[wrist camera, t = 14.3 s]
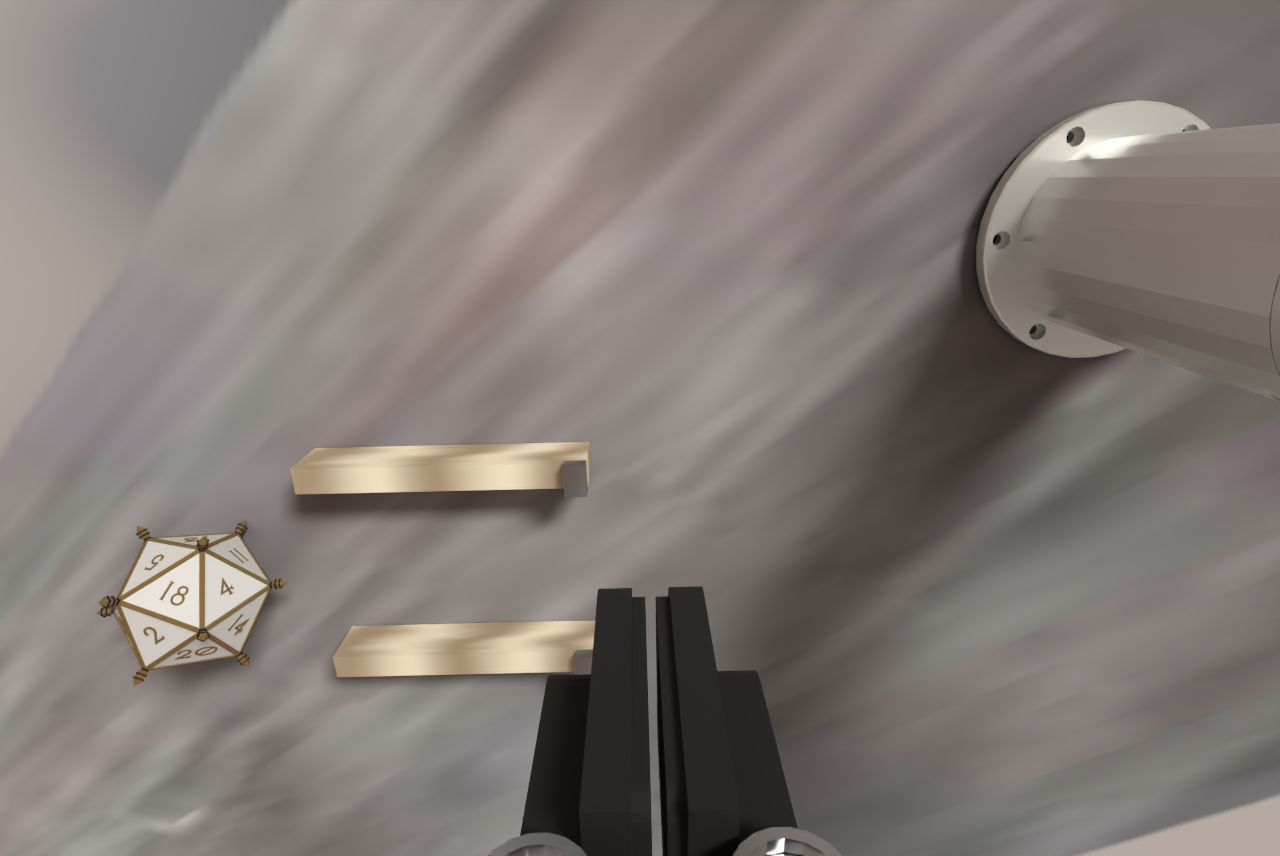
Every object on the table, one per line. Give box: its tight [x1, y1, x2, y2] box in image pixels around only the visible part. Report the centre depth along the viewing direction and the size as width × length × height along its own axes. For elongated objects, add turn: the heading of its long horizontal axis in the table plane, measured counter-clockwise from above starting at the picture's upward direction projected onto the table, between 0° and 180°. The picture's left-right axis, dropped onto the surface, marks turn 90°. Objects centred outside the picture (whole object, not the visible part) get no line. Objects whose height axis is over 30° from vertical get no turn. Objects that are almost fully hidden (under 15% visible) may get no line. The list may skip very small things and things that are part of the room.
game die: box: [96, 521, 288, 686], centre depth 37 cm, size 9×8×10 cm
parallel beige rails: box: [290, 442, 595, 677], centre depth 39 cm, size 16×14×4 cm
